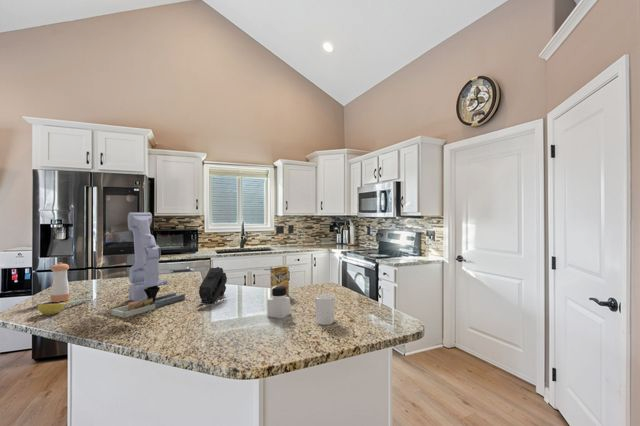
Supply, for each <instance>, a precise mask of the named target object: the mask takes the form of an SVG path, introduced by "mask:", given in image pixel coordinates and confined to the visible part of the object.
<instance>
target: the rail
mask: <svg viewBox="0 0 640 426" xmlns="http://www.w3.org/2000/svg"><path fill="white" fill-rule="evenodd" d="M186 300H187V298H186V294H185V293H180V294H177V292H169V293H166V294H163V295H158V296H156V298H155V301H154V302H153V304H155V309H159V308H163V307H166V306H168V305H172V304H176V303H179V302H183V301H186Z"/></svg>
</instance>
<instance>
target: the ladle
mask: <svg viewBox="0 0 640 426" xmlns="http://www.w3.org/2000/svg"><path fill="white" fill-rule="evenodd" d="M85 301H86V302H90V301H91V299H85V298H84V299H76V300H72V301H66V302H62V303H51V304H50V303H47V304H37V310H38V311H39V313H41V314H42V315H45V316H52V315H51V314H54V315H56V314H58V313H60V311H62V310H63V308H64V307H65V305H68V304H73V303H76V302H85Z"/></svg>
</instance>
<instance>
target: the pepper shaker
mask: <svg viewBox="0 0 640 426" xmlns="http://www.w3.org/2000/svg"><path fill="white" fill-rule="evenodd" d="M69 269H70V266H69V264H67V263H63V262H58V263H57V264H54V265H52V266H51V267H50V270H51V271H52V283H51V289H50V290H51V294H50V303H51V302H58V303H61V302H60V301H64V302H67V301H66V300H68V301H70V300H71V299H70V298H71V297H70V296H71V295H70V294H71V293H70V291H69V289H70V288H69V287H70V285H69V279H68V270H69ZM69 299H70V300H69Z"/></svg>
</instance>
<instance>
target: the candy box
mask: <svg viewBox="0 0 640 426" xmlns="http://www.w3.org/2000/svg"><path fill="white" fill-rule="evenodd" d="M289 273H290V272H289V266H288V265H279V266H271V267H270V274H269V275H270V298H272V288H273V287H275V286H284V287H285V288H286V297H289V295H290V294H289V293H290V292H289V291H290V280H289V279H290V278H289V275H290V274H289Z"/></svg>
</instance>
